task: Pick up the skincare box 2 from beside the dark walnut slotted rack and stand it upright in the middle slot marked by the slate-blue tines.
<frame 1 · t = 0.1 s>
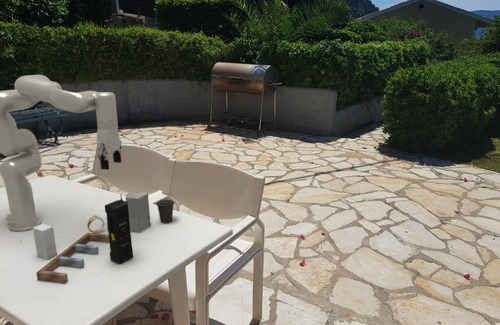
hand: (111, 165, 151), 31 cm above the table, tool pointing down, fingers open, 9 cm apart
slot rack: (78, 258, 141), on the table
coffee cup: (166, 221, 174), on the table
skincare box 2: (47, 255, 143), on the table
ring: (96, 233, 161), on the table
skincare box: (139, 228, 166), on the table
portable radio: (121, 259, 141), on the table
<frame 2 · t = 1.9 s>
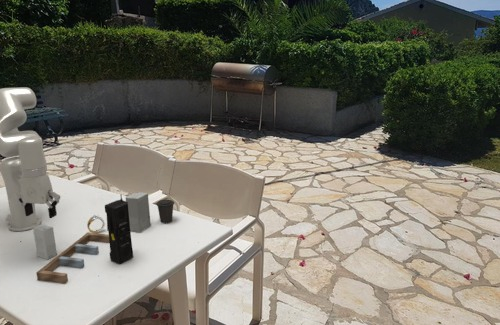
hand: (41, 215, 138), 17 cm above the table, tool pointing down, fingers open, 9 cm apart
nothing on the table moved.
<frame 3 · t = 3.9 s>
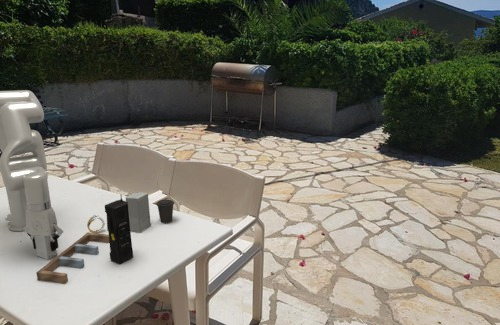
hand: (46, 248, 142), 3 cm above the table, tool pointing down, fingers closed on skincare box 2, 6 cm apart
skincare box 2: (47, 255, 143), on the table, touching gripper
everything else where it was.
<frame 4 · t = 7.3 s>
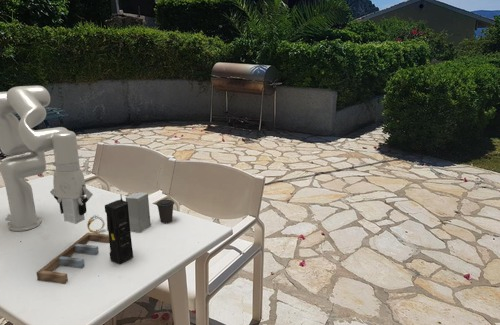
hand: (73, 212, 135), 19 cm above the table, tool pointing down, fingers closed on skincare box 2, 6 cm apart
skincare box 2: (74, 220, 136), point 16 cm above the table, touching gripper
everything else where it was.
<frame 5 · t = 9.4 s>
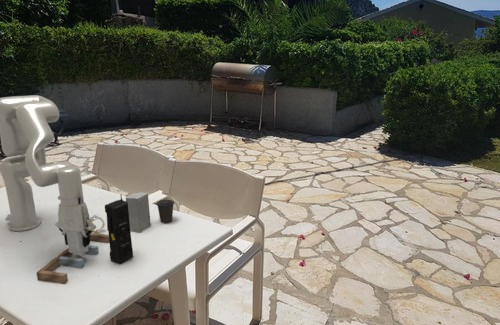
hand: (77, 244, 139), 6 cm above the table, tool pointing down, fingers closed on skincare box 2, 6 cm apart
skincare box 2: (78, 252, 140), point 3 cm above the table, touching gripper
everything else where it was.
when the fingers open (5 cm above the table, at t = 10.8 s): skincare box 2 drops 1 cm, on the table.
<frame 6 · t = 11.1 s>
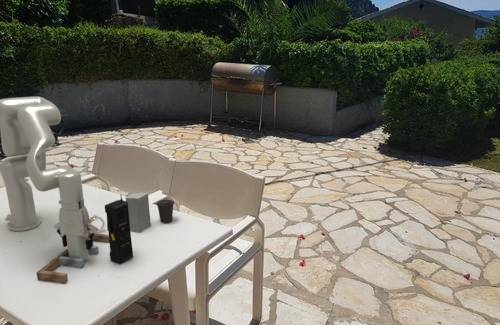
hand: (78, 246, 139), 5 cm above the table, tool pointing down, fingers open, 9 cm apart
skincare box 2: (79, 259, 141), on the table
everything else where it was.
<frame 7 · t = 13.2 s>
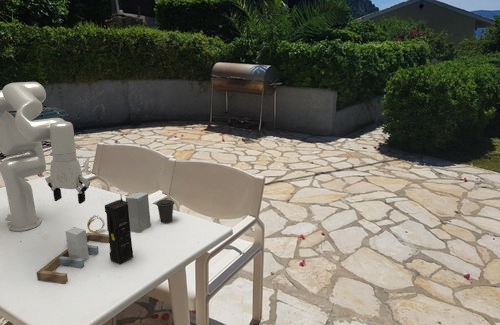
hand: (70, 201, 136), 23 cm above the table, tool pointing down, fingers open, 9 cm apart
nothing on the table moved.
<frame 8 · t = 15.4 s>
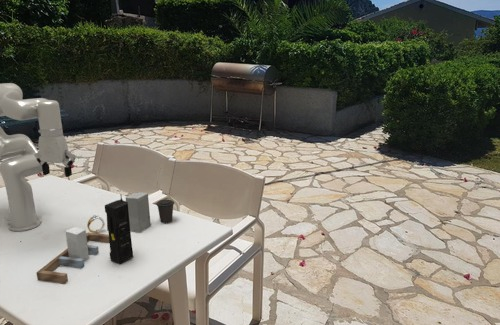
hand: (57, 175, 147), 28 cm above the table, tool pointing down, fingers open, 9 cm apart
nothing on the table moved.
at the end: skincare box 2 0.4 cm off-centre on the slot rack, point 0.0 cm above the slot rack's base; skincare box 2 tilted 0°; the gripper is holding nothing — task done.
